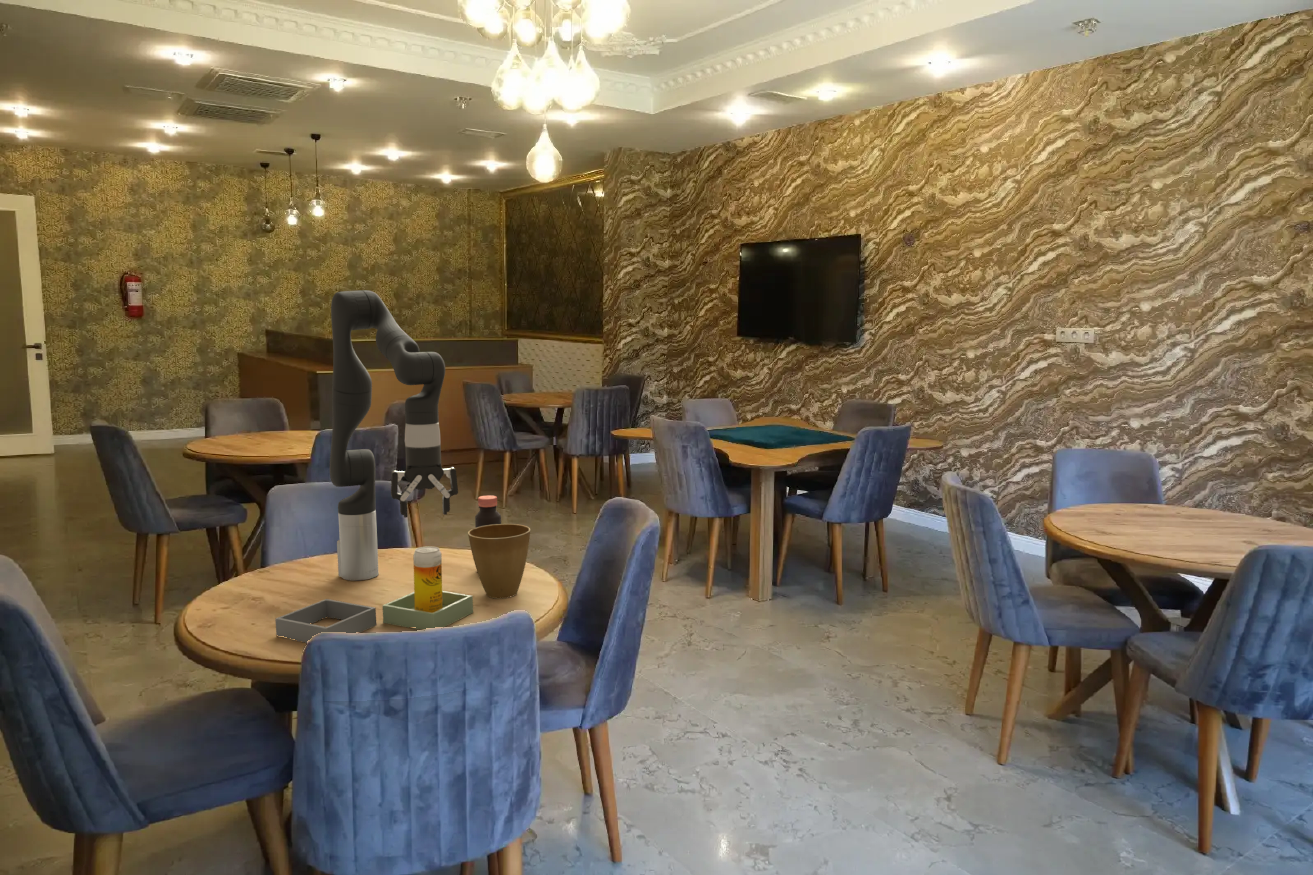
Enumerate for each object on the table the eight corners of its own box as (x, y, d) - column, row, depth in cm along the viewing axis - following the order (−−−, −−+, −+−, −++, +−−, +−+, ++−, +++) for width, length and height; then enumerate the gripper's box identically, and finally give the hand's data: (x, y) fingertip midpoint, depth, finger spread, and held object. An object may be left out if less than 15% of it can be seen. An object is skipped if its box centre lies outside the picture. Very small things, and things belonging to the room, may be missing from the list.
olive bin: (383, 622, 198) (382, 605, 198) (424, 604, 211) (423, 587, 210) (433, 632, 192) (433, 614, 192) (473, 612, 205) (472, 595, 204)
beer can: (435, 619, 198) (434, 553, 196) (410, 617, 199) (408, 551, 197) (447, 610, 204) (445, 546, 202) (422, 608, 205) (420, 544, 203)
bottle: (472, 573, 235) (470, 499, 232) (483, 566, 242) (481, 494, 239) (496, 575, 234) (494, 500, 231) (506, 568, 240) (504, 495, 237)
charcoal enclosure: (276, 636, 190) (275, 618, 189) (327, 615, 203) (326, 598, 202) (327, 647, 184) (326, 628, 183) (376, 625, 197) (375, 607, 196)
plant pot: (534, 584, 226) (533, 522, 224) (528, 603, 211) (526, 537, 209) (475, 585, 225) (473, 523, 223) (464, 604, 211) (462, 538, 208)
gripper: (390, 447, 190) (393, 521, 192) (458, 444, 195) (460, 516, 197) (387, 442, 197) (390, 514, 199) (453, 439, 202) (455, 509, 204)
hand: (425, 515), depth 198 cm, fingers open, 8 cm apart
